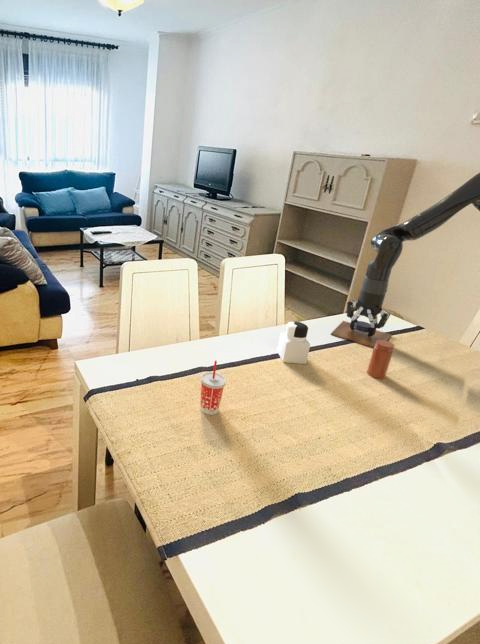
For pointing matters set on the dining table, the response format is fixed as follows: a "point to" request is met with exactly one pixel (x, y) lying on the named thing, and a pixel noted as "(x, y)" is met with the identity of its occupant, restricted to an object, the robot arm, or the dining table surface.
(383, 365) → the jar
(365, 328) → the lid
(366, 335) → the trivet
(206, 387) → the beverage cup
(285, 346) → the medicine bottle
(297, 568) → the dining table surface
